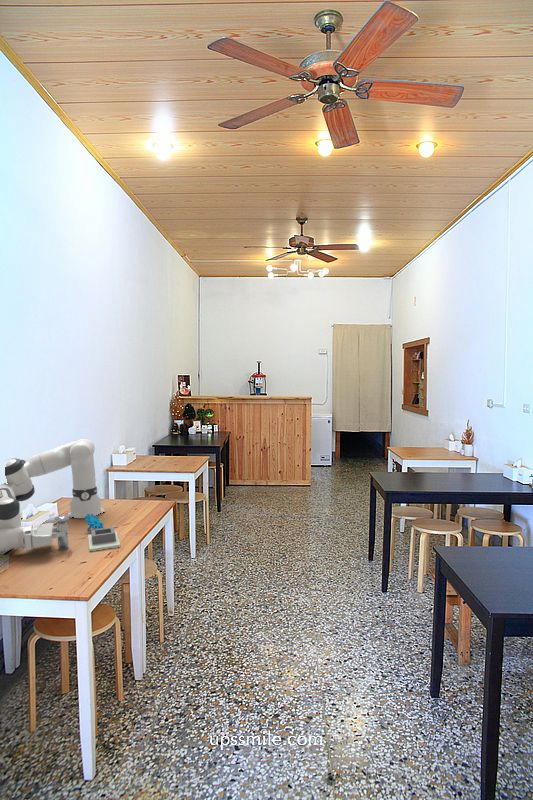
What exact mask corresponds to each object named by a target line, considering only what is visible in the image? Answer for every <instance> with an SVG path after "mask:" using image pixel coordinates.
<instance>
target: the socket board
mask: <svg viewBox="0 0 533 800" xmlns="http://www.w3.org/2000/svg"><path fill="white" fill-rule="evenodd" d="M90 531H91V532H90V534H87V535H88V536H87V539H88V547H89V548H88V551H89V552H90V551H93V552H97V551H96V550H100V551H103V550H102V549H106V550H109V549H108V548H113V549H118V547H119V548H121V542H120V539H119V535H118V533H117V530H115V527H114V526H110V527H104V528H102V529H96V528H94V529H90Z"/></svg>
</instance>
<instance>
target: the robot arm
mask: <svg viewBox="0 0 533 800" xmlns="http://www.w3.org/2000/svg"><path fill="white" fill-rule="evenodd" d="M95 449H96V448H95V444H94V443H93V441H92V440H90V439H87V438H80V439H78V440H74V441H71V442H69V443H66V444H63V445H60V446H58V447H56V448H55V447H54V448H52V449H49V450H46V451H42V452H39V453H37V454H35V455H31V456H30V457H27V458H26V459H25V458H24V459H20V458H10V459H11V460H9V459H8V460H9V461H8V462H7V464H6V467H5V476H6V479H7V483H8V484H6V483H4V484H1V485H0V552H6V551H10V550H11V551H12V550H13V549H20V550H21V549H25V550H26V551H30V550H32V549H36V548H37V549H38V548H42V547H46V546H50V545H52V544H53V539H58V537H60V536H64V535H65V531H60V532H57V526H55V525H54V523H53V522H48V523H42V524H36V525H35V526H34V525H33V524H26V525H22V523H21V522H22V520H21V512H20V511H21V510H20V509H21V507H20V505H21V504H20V502H24V501H27V500H29V499H31V498H32V497H33V495H34V494H35V491H36V490H35V486H34V484H33V481H32V479H31V478H35V477H40V476H44V475H48V474H51V473H53V472H57V471H59V470H62V469H66V468H67V467H69V466H71V467H70V468H71V473H72V474H71V475H72V491H71V493H72V498H71V499H70V501H69V510H70V511H69V512H68V513H67V514H66V515H68V516H69V518H72V517H74V519H86V518H85V517H86V516H87V514H90V515H91V514H93V515H94V516H93V517H95V516H96V515H97V516H99V515H101V514H104V513H103V512H105V513H106V509H104V508H103V507H102V503H101V497H100V496H99V494H98V487H97V485H96V484H97V483H96V481H97V480H96V470H95V469H96V468H95V460H94V454H95ZM100 513H101V514H100ZM98 514H99V515H98ZM90 517H91V516H90Z"/></svg>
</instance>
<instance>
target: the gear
mask: <svg viewBox="0 0 533 800" xmlns="http://www.w3.org/2000/svg"><path fill="white" fill-rule="evenodd" d="M90 516H91V517H90ZM84 519H85V522H86V523H87V526H88V527H87V528H86V530H87V531H90V530H95V529H102V528H105V526H104V523H103V522H102V520H103V519H102V518H99V517H98V515H97V516H94V515H93V514H91V515H90V514H87V516H86V517H85V518H84Z"/></svg>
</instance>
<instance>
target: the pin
mask: <svg viewBox="0 0 533 800" xmlns="http://www.w3.org/2000/svg"><path fill="white" fill-rule="evenodd" d="M69 520H70V517H69V516H68V515H67V514H63V515H58V516H55V517H54V522H55V523H56V527H57V532H60V531H65V535H64V536H60V537H58V538H57V547H58V550H59V551H63V550H64V551H65V550H68V549H69V548H70V546H69V532H68V521H69Z"/></svg>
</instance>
